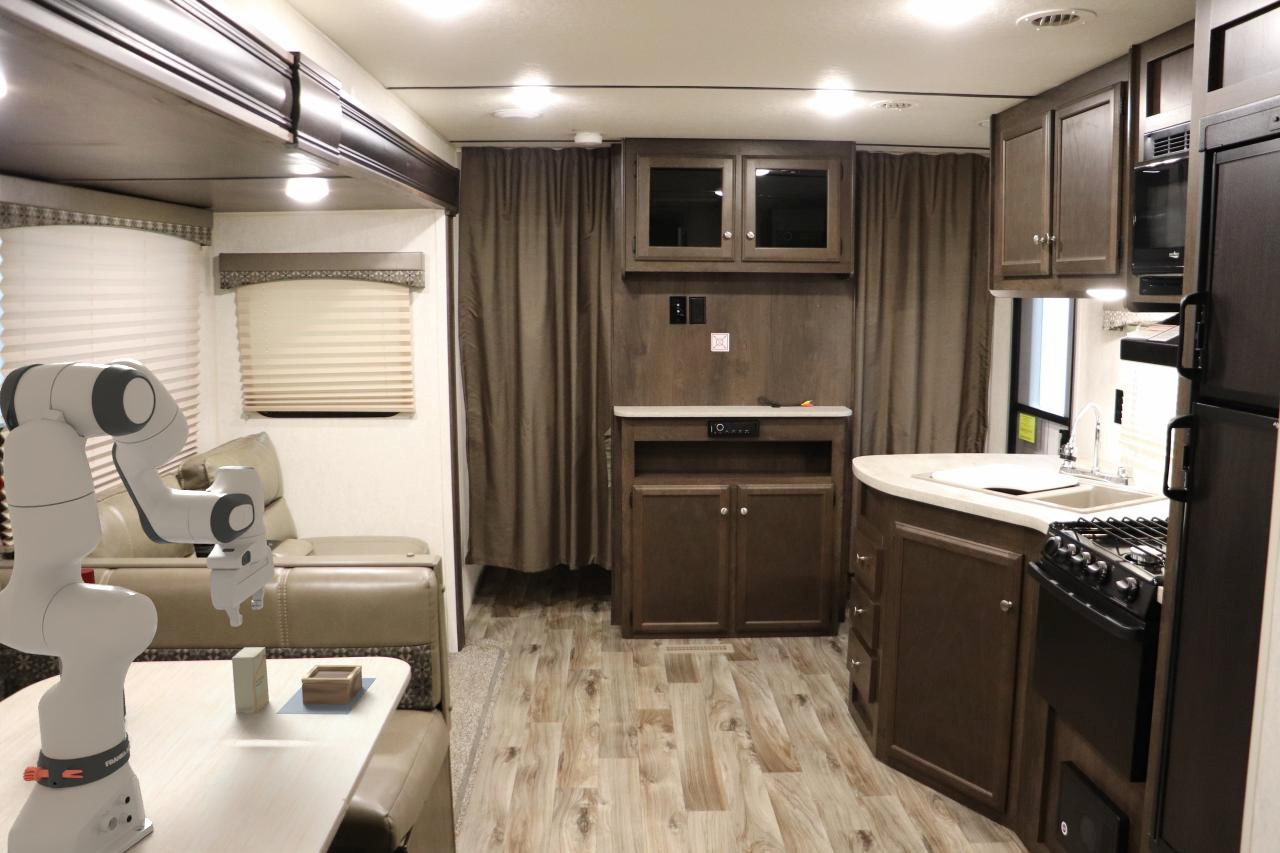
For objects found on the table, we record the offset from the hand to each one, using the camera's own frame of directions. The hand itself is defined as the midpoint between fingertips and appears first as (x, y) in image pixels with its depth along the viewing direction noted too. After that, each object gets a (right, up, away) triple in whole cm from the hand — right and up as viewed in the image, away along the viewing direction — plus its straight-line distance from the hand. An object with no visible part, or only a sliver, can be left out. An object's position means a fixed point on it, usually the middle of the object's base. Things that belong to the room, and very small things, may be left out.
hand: (247, 616), depth 194 cm
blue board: (+13, -18, +8) cm, 24 cm away
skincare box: (0, -19, +2) cm, 19 cm away
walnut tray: (+14, -17, +8) cm, 24 cm away
